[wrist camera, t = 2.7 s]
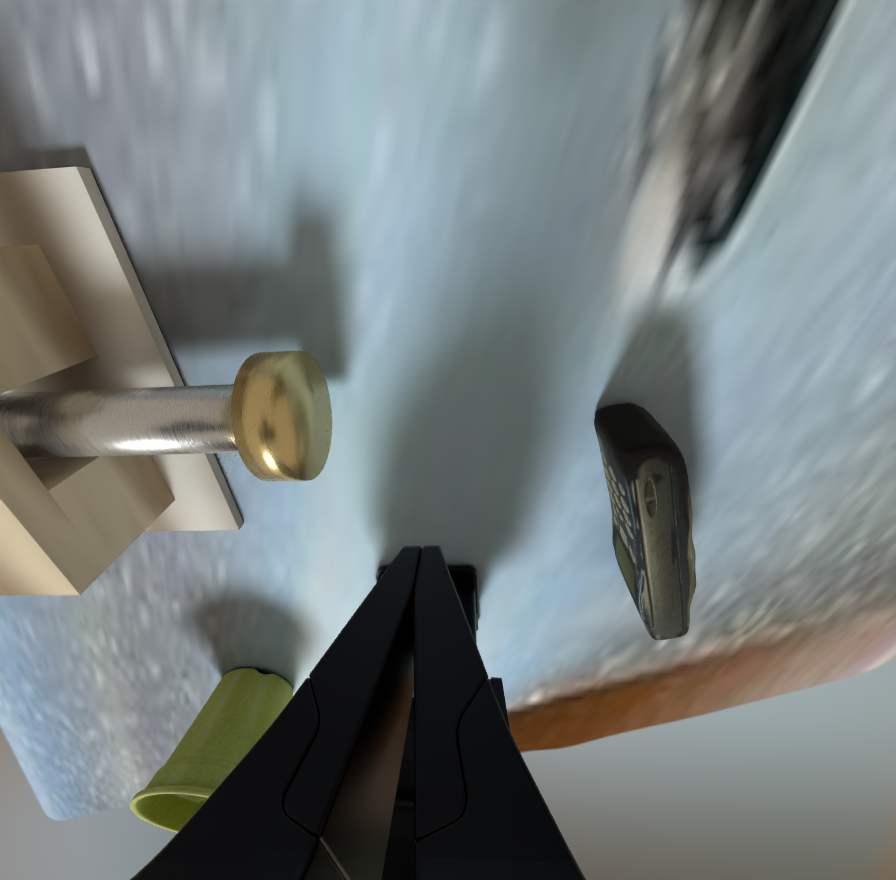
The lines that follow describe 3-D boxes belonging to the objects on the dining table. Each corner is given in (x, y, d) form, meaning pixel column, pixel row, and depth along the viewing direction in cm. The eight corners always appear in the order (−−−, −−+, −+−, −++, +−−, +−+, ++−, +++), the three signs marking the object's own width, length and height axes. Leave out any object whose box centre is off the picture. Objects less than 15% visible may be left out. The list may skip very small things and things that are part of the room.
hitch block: (89, 168, 15) (-172, 138, 9) (244, 523, 24) (169, 628, 18) (-126, 184, 15) (-512, 167, 9) (106, 525, 24) (-11, 628, 18)
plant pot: (333, 702, 35) (297, 836, 27) (250, 718, 37) (196, 846, 30) (270, 645, 31) (207, 785, 23) (181, 667, 33) (97, 801, 25)
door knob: (315, 334, 17) (260, 380, 12) (339, 438, 19) (301, 507, 15) (-20, 350, 18) (-186, 397, 13) (47, 447, 20) (-72, 514, 16)
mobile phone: (612, 460, 15) (653, 672, 22) (694, 438, 14) (711, 664, 21) (580, 407, 19) (623, 598, 26) (643, 388, 19) (670, 589, 25)
